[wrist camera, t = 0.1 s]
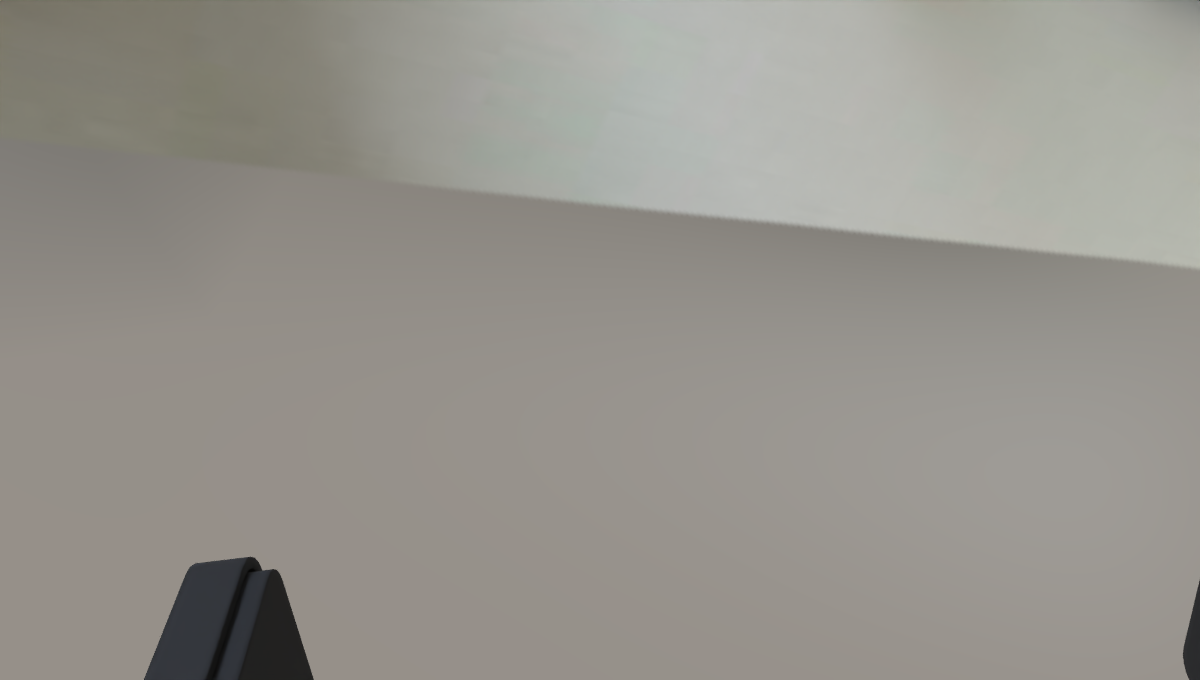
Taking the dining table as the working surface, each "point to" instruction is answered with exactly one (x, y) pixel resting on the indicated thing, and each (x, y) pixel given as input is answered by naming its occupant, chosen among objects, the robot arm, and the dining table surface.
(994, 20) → the dining table surface
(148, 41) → the dining table surface
